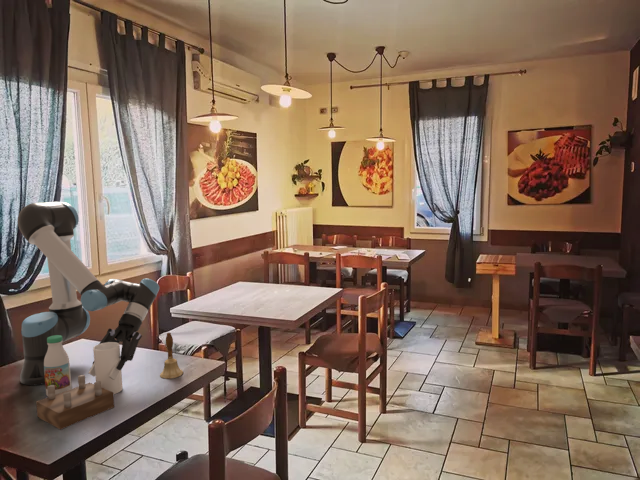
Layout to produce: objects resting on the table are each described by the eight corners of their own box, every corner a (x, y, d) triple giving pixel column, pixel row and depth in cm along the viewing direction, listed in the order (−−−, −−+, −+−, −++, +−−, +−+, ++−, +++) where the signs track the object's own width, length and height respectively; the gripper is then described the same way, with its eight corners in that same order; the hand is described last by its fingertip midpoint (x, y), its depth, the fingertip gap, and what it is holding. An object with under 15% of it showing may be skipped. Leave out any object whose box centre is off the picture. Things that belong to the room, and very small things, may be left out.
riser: (37, 416, 149) (34, 388, 148) (90, 396, 162) (88, 371, 161) (60, 429, 141) (57, 400, 140) (114, 407, 154) (112, 380, 153)
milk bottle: (48, 390, 168) (43, 334, 166) (73, 387, 171) (68, 332, 168) (44, 399, 161) (39, 341, 158) (70, 395, 163) (65, 338, 161)
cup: (114, 396, 162) (111, 350, 160) (91, 395, 163) (88, 349, 161) (127, 386, 170) (124, 342, 169) (105, 385, 171) (101, 341, 169)
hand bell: (155, 378, 178) (152, 335, 176) (167, 369, 186) (165, 329, 184) (175, 379, 176) (173, 337, 174) (187, 371, 184) (185, 330, 182)
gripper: (161, 325, 175) (132, 385, 162) (116, 320, 183) (85, 377, 170) (150, 315, 170) (119, 376, 157) (104, 310, 177) (71, 367, 164)
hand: (101, 376), depth 163 cm, fingers closed on cup, 8 cm apart
